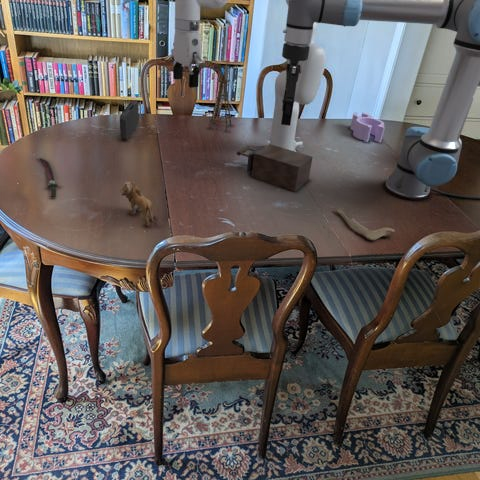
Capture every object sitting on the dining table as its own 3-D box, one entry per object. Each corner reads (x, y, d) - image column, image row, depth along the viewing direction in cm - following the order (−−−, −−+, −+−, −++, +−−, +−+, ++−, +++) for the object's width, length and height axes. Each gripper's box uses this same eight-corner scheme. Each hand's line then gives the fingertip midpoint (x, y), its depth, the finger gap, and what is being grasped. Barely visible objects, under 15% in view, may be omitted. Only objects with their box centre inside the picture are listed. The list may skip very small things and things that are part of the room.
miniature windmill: (227, 131, 202) (232, 59, 186) (208, 128, 203) (212, 56, 187) (231, 125, 210) (237, 55, 193) (213, 122, 211) (217, 52, 194)
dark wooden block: (251, 177, 166) (254, 153, 161) (266, 166, 175) (269, 143, 170) (294, 191, 159) (299, 167, 155) (308, 180, 168) (312, 156, 163)
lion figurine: (118, 210, 138) (116, 182, 133) (132, 204, 141) (131, 177, 137) (151, 229, 130) (150, 201, 126) (165, 223, 134) (165, 195, 129)
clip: (343, 126, 223) (346, 112, 219) (367, 127, 225) (371, 113, 221) (360, 142, 206) (364, 127, 202) (386, 142, 209) (390, 127, 205)
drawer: (232, 167, 169) (234, 149, 165) (247, 158, 177) (249, 141, 173) (286, 184, 161) (289, 166, 157) (298, 175, 169) (301, 157, 165)
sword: (61, 197, 141) (61, 193, 140) (50, 198, 139) (50, 194, 139) (49, 160, 164) (48, 156, 163) (39, 160, 163) (39, 157, 162)
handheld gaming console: (132, 121, 201) (132, 98, 196) (139, 122, 202) (138, 99, 196) (119, 140, 182) (118, 115, 177) (126, 141, 182) (125, 116, 177)
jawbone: (381, 248, 134) (382, 242, 133) (320, 221, 145) (321, 216, 143) (394, 234, 140) (396, 229, 139) (335, 210, 150) (336, 204, 149)
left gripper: (213, 30, 137) (210, 89, 147) (183, 20, 149) (182, 75, 158) (191, 31, 133) (189, 91, 143) (162, 20, 145) (162, 76, 154)
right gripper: (284, 35, 142) (275, 104, 153) (282, 50, 121) (272, 129, 133) (308, 37, 142) (297, 107, 153) (311, 54, 121) (298, 132, 132)
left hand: (185, 82), depth 150 cm, fingers open, 9 cm apart
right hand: (285, 117), depth 143 cm, fingers open, 13 cm apart
